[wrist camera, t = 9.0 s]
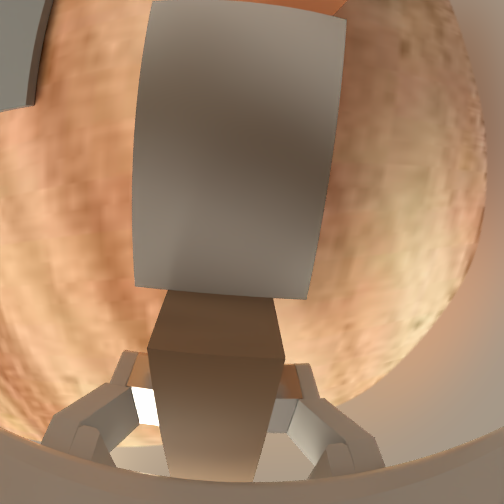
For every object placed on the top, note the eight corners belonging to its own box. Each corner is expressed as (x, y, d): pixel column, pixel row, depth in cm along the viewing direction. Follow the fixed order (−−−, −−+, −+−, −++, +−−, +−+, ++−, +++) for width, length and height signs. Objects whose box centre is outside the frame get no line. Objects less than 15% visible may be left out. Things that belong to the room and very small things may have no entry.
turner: (267, 436, 12) (273, 493, 10) (159, 428, 12) (149, 485, 9) (339, 26, 6) (390, -17, 4) (158, 8, 6) (120, -43, 3)
